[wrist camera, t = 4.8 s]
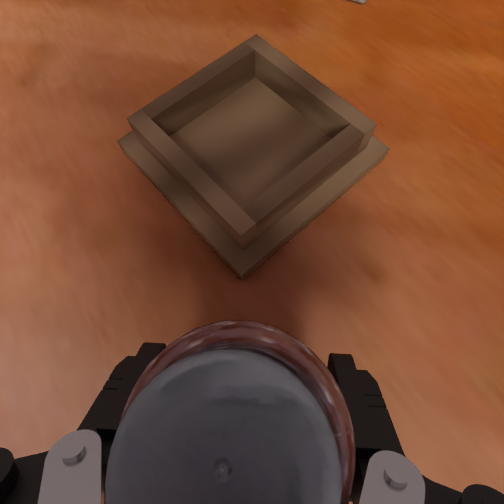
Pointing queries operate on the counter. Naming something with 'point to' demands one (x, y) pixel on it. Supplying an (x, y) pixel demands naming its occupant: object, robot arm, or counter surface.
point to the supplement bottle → (233, 424)
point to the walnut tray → (251, 151)
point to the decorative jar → (359, 1)
